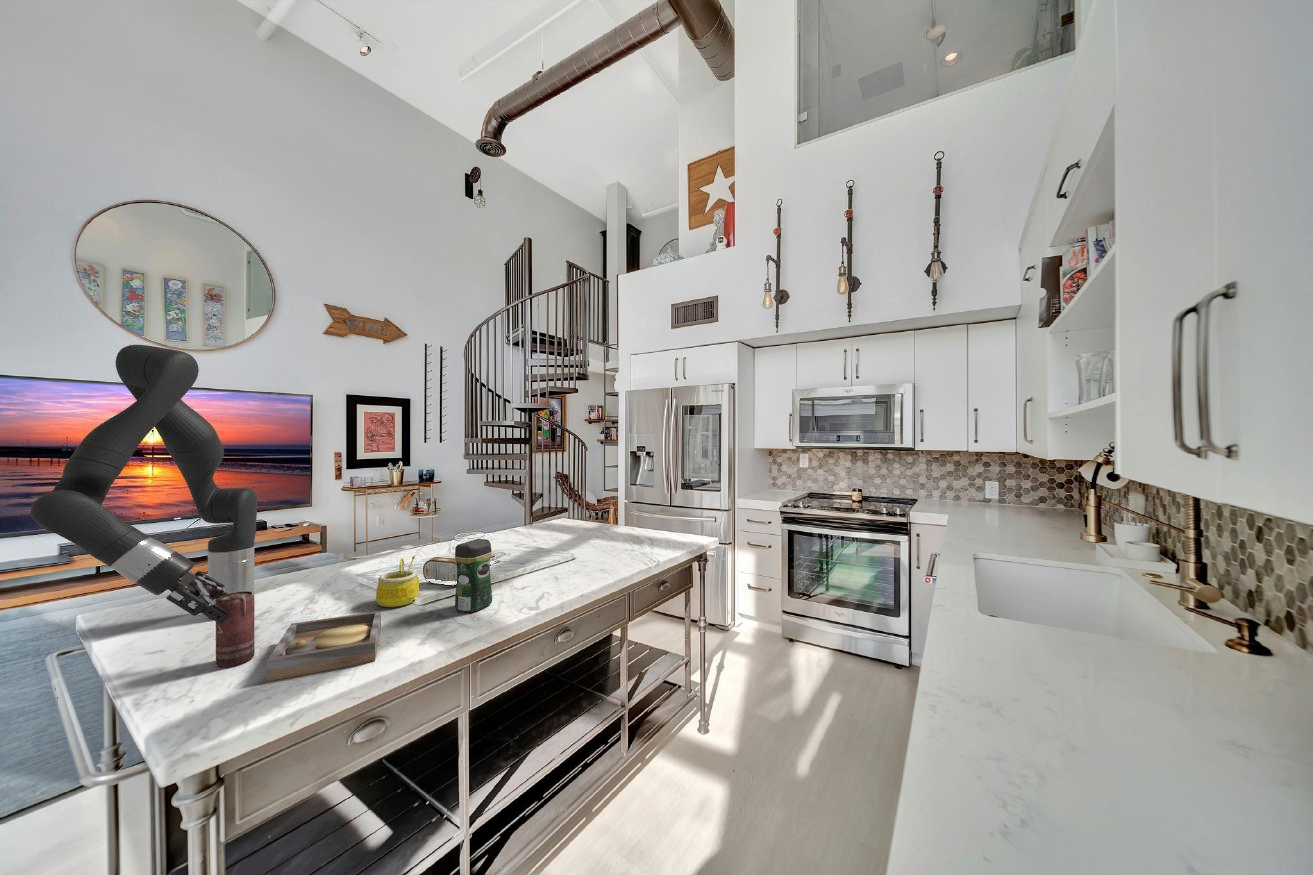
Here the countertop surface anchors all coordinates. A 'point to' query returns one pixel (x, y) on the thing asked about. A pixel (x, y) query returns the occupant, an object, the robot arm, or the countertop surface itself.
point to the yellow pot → (397, 587)
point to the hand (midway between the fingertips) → (231, 612)
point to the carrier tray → (325, 645)
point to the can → (236, 630)
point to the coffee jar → (473, 575)
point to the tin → (440, 569)
